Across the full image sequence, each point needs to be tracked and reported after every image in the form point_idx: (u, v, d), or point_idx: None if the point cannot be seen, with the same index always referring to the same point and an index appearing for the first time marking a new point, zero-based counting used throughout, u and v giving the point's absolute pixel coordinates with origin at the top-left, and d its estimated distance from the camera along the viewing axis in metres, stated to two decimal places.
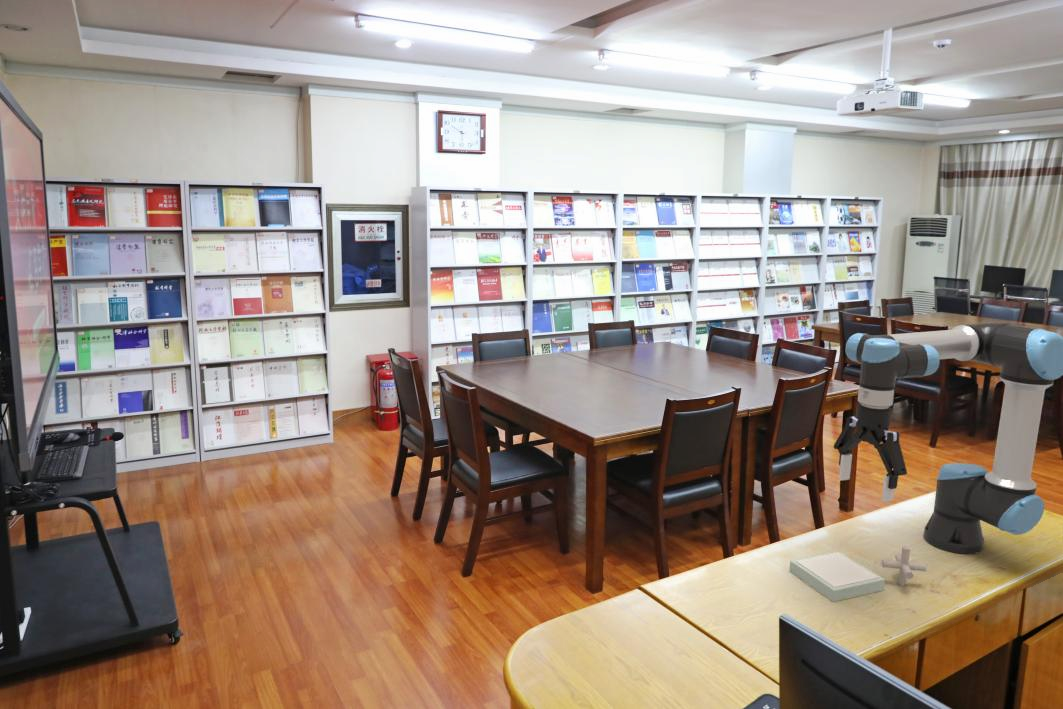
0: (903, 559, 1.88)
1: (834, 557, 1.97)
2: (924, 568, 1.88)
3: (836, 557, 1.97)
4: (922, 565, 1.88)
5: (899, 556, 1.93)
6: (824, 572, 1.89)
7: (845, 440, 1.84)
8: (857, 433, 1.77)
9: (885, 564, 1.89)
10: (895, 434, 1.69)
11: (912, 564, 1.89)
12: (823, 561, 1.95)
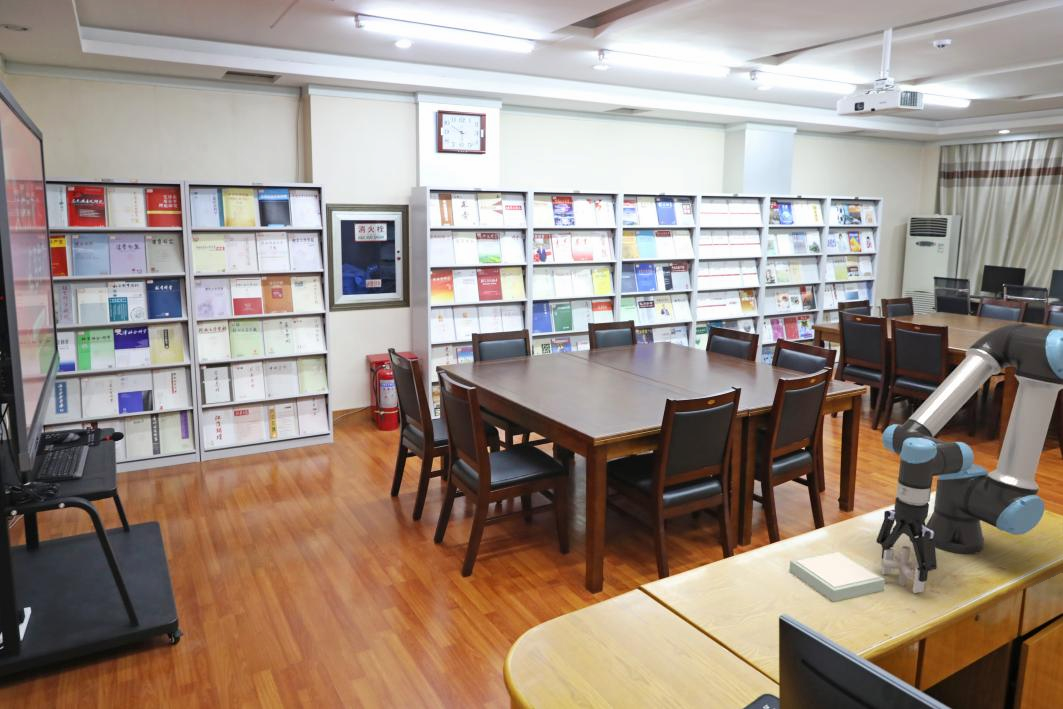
0: (903, 559, 1.88)
1: (834, 557, 1.97)
2: None
3: (836, 557, 1.97)
4: None
5: (899, 556, 1.93)
6: (824, 572, 1.89)
7: (886, 534, 1.94)
8: (896, 526, 1.89)
9: (885, 564, 1.89)
10: (932, 533, 1.81)
11: (912, 564, 1.89)
12: (823, 561, 1.95)
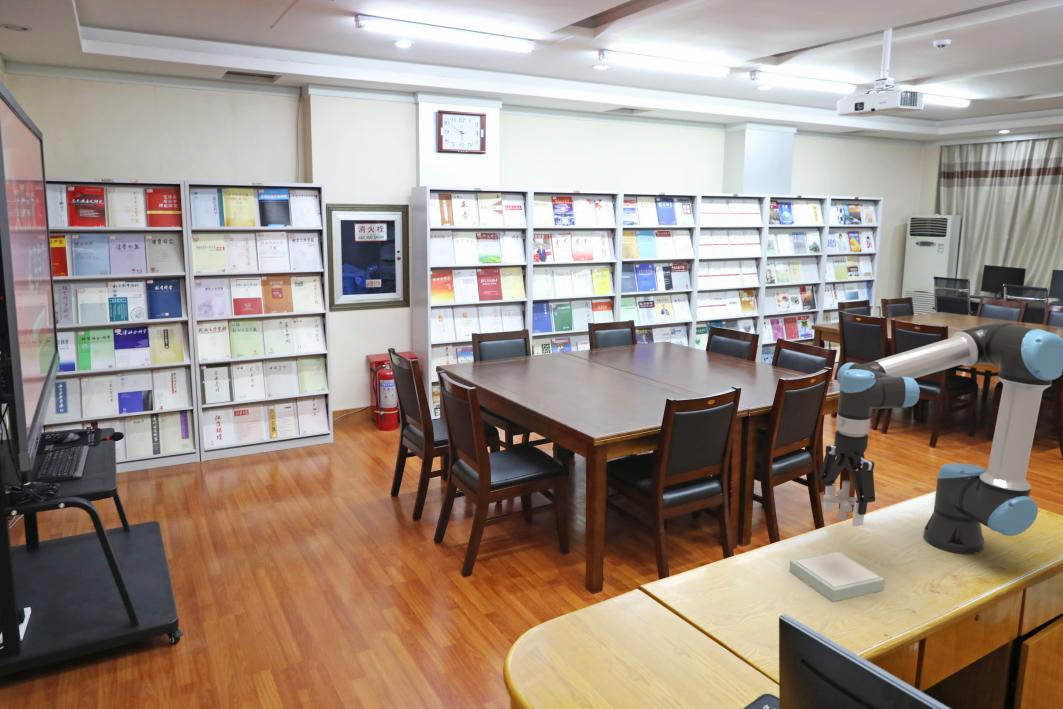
0: (843, 493, 1.86)
1: (834, 557, 1.97)
2: None
3: (836, 557, 1.97)
4: None
5: (840, 492, 1.90)
6: (824, 572, 1.89)
7: (828, 470, 1.92)
8: (836, 460, 1.86)
9: (825, 499, 1.87)
10: (870, 464, 1.78)
11: (852, 498, 1.86)
12: (823, 561, 1.95)
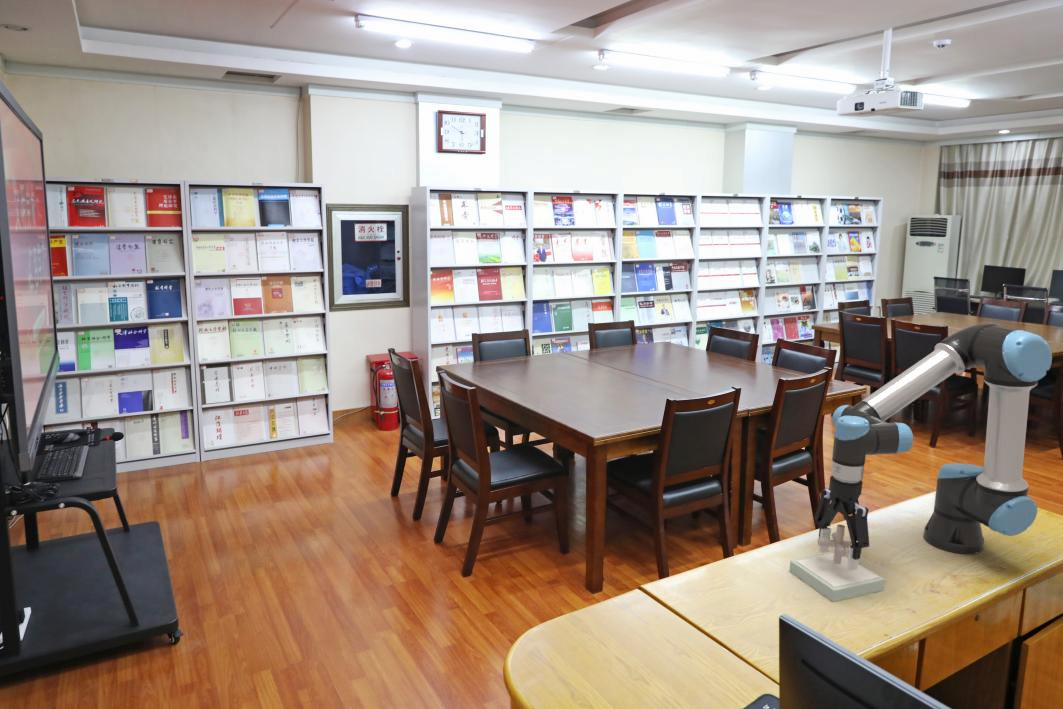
0: (838, 537, 1.89)
1: None
2: None
3: None
4: None
5: (835, 535, 1.93)
6: (824, 572, 1.89)
7: (823, 513, 1.94)
8: (831, 505, 1.89)
9: (820, 542, 1.90)
10: (864, 510, 1.81)
11: (847, 542, 1.89)
12: (823, 561, 1.95)
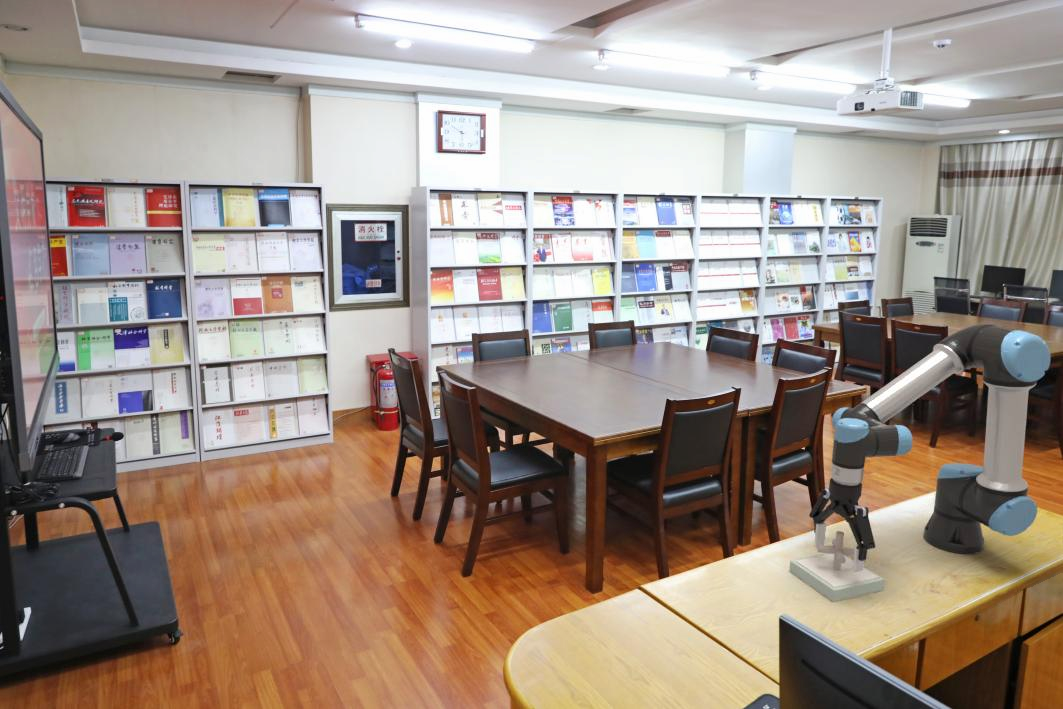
0: (837, 544, 1.89)
1: None
2: None
3: None
4: None
5: (835, 541, 1.93)
6: (824, 572, 1.89)
7: (820, 510, 1.96)
8: (830, 506, 1.89)
9: (819, 549, 1.90)
10: (864, 510, 1.81)
11: (846, 549, 1.89)
12: (823, 561, 1.95)
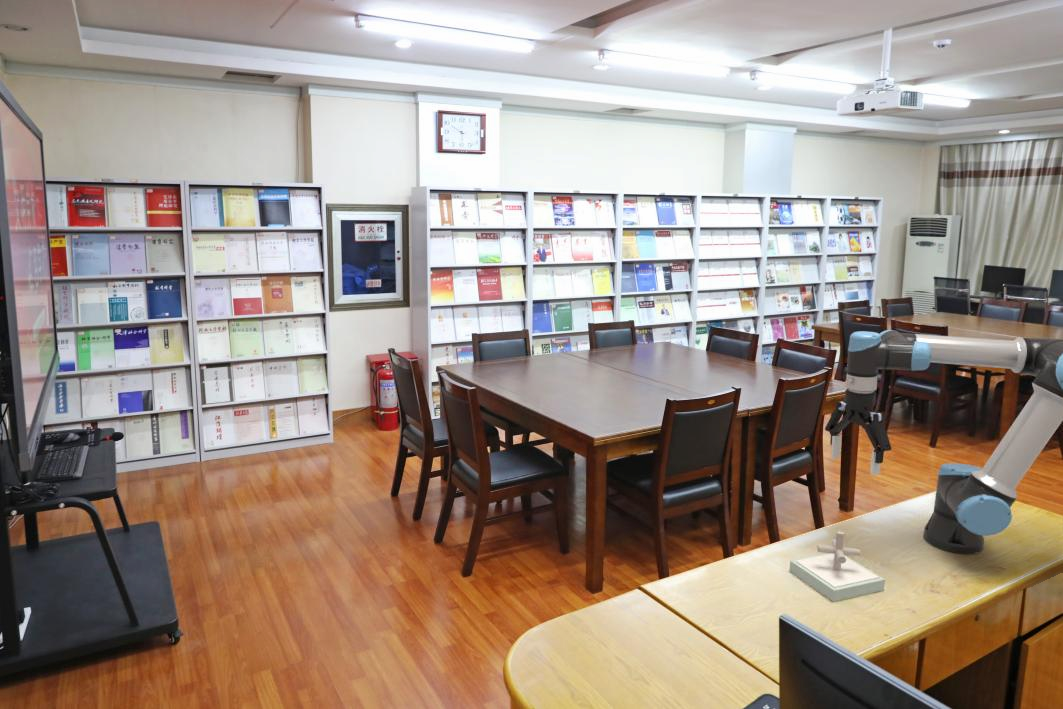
0: (837, 544, 1.89)
1: None
2: (858, 553, 1.88)
3: None
4: (856, 550, 1.88)
5: (835, 541, 1.93)
6: (824, 572, 1.89)
7: (835, 423, 2.07)
8: (846, 416, 2.01)
9: (820, 549, 1.90)
10: (880, 415, 1.93)
11: (846, 549, 1.89)
12: (823, 561, 1.95)
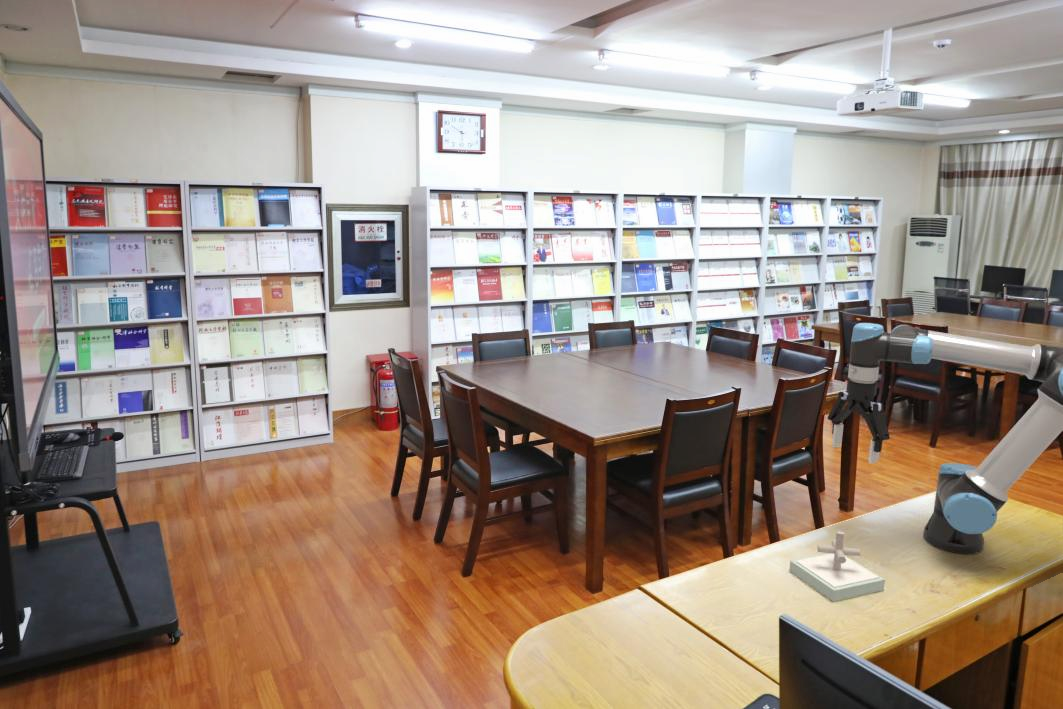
0: (837, 544, 1.89)
1: None
2: (858, 553, 1.88)
3: None
4: (856, 550, 1.88)
5: (835, 541, 1.93)
6: (824, 572, 1.89)
7: (837, 412, 2.12)
8: (847, 405, 2.06)
9: (820, 549, 1.90)
10: (879, 404, 1.97)
11: (846, 549, 1.89)
12: (823, 561, 1.95)
